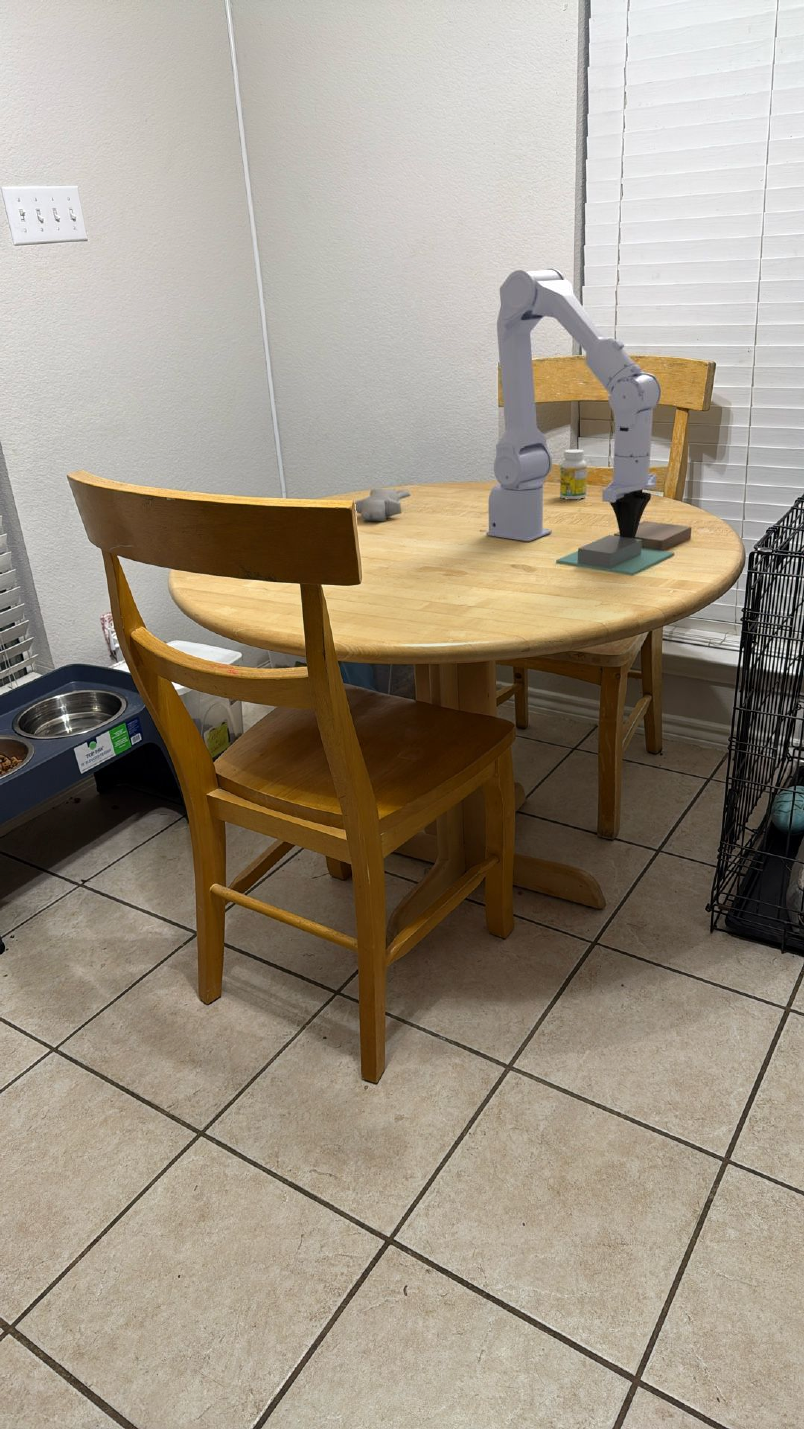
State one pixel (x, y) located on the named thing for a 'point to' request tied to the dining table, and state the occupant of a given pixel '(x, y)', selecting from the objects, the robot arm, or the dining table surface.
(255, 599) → the dining table surface
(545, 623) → the dining table surface
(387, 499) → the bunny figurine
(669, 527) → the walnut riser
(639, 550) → the slate tile
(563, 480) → the supplement bottle
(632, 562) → the teal mat
